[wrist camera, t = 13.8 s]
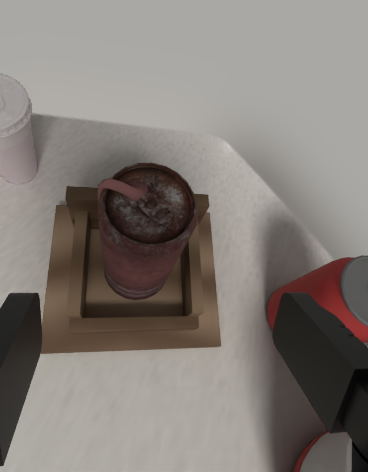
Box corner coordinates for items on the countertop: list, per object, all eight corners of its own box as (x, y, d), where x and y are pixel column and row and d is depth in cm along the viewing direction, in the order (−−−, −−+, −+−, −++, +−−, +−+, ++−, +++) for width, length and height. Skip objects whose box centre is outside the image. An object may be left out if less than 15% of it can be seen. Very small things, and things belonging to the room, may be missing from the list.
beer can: (332, 317, 35) (431, 292, 24) (300, 364, 32) (396, 361, 21) (286, 274, 36) (361, 232, 25) (252, 317, 33) (319, 290, 22)
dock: (217, 347, 31) (244, 340, 24) (41, 353, 28) (19, 348, 21) (206, 217, 36) (226, 183, 30) (58, 210, 33) (44, 171, 27)
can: (110, 234, 32) (107, 144, 19) (172, 248, 33) (207, 171, 20) (93, 293, 29) (77, 233, 17) (160, 307, 30) (193, 260, 18)
